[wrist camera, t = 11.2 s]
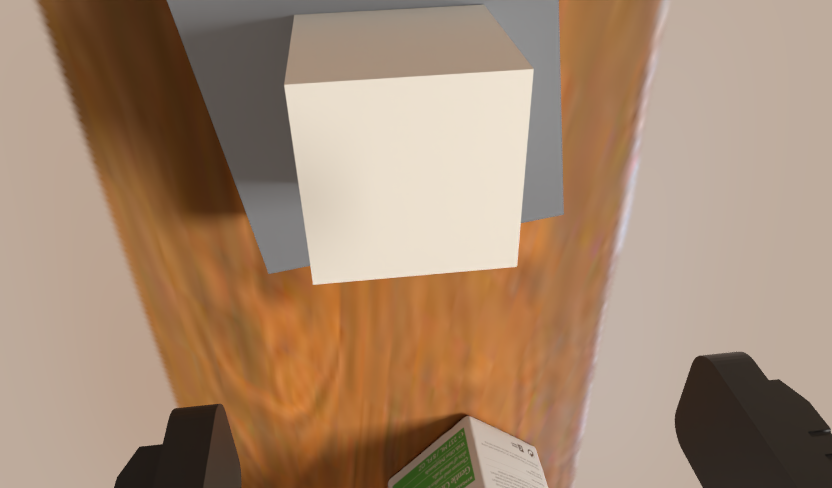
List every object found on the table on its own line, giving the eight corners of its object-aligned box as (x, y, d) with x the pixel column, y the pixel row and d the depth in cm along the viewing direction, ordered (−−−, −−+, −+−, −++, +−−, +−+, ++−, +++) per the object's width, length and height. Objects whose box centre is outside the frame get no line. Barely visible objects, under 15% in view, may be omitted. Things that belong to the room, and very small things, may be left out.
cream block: (294, 14, 20) (283, 84, 15) (483, 4, 20) (533, 68, 16) (315, 183, 23) (313, 284, 18) (477, 170, 24) (516, 266, 19)
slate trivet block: (179, -76, 23) (149, -47, 18) (513, -140, 23) (555, -126, 19) (275, 208, 30) (269, 273, 25) (530, 157, 30) (563, 214, 26)
